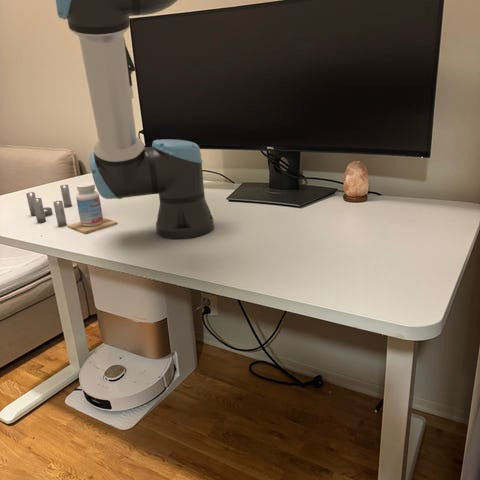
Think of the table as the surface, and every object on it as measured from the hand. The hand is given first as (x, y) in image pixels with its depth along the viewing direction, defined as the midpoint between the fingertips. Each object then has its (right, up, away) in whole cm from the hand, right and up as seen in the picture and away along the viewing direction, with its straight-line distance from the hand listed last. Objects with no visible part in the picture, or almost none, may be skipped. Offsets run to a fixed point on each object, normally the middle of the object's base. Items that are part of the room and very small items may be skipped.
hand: (115, 98), depth 138 cm
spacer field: (-16, -34, +5) cm, 38 cm away
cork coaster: (-5, -38, -7) cm, 39 cm away
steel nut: (-23, -34, +6) cm, 42 cm away
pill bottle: (-5, -38, -7) cm, 39 cm away
